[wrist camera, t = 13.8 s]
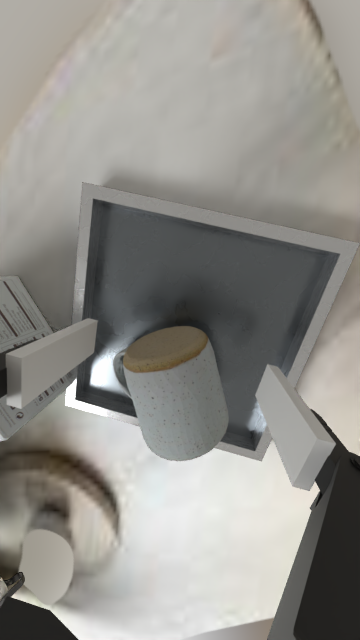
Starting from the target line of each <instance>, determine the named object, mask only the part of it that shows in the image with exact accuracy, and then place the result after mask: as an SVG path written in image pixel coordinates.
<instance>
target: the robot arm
mask: <svg viewBox="0 0 360 640" xmlns="http://www.w3.org/2000/svg"><path fill="white" fill-rule="evenodd" d="M97 322H98V320H94V319H90V318H87V319H85V320H83V321H80V322H78V323H76V324H73V325H71V326H69V327H66V328H64V329H62V330H60V331H57V332H55V333H53V334H50V335H48V336H46V337H44V338H40V339H35V340H30V341H28V342H26V343H23V344H21V345H18V346H16V348H15V347H14V348H11V349H9V350H7V351H4V352H2V353H0V398H2V397H3V396H5V395H6V400H7V405H9V406H13V407H16V408H20V409H22V408H23V407H24V406H26V405H27V404H28V403H30V402H31V401H32V400H33V399H35V398H36V397H37V396H39V395H40V394H41V393H42V392H44V391H45V390H46V389H48V388H49V387H50V386H51V385H53V384H54V383H55V382H57V381H58V380H59V379H60V378H62V377H63V376H64V375H66V374H67V373H68V372H70V371H71V370H72V369H73V368H75V367H76V366H77V365H79V364H80V363H81V362H82V361H84V360H85V359H86V358H88V357H89V356H90V355H91V354H93V353H94V348H95V339H96V331H97ZM255 396H256V398H257V401H258V403H259V406H260V408H261V411H262V413H263V416H264V418H265V420H266V423H267V425H268V428H269V430H270V433H271V435H272V438H273V440H274V442H275V445H276V447H277V450H278V452H279V455H280V457H281V460H282V462H283V464H284V467H285V469H286V472H287V474H288V477H289V479H290V482H291V484H292V486H293V487H297V488H300V489H304V490H307V491H310V489H311V487H312V486H313V484H314V482H315V481H316V483H317V485H318V487H319V489H320V492H319V493H318V495H317V497H316V499H315V500H314V502H313V504H312V505H311V507H310V509H311V510H312V511H311V514H310V517H309V520H308V523H307V526H306V529H305V532H304V534H303V537H302V540H301V543H300V546H299V549H298V552H297V555H296V557H295V560H294V563H293V566H292V569H291V572H290V575H289V578H288V580H287V583H286V586H285V589H284V592H283V595H282V598H281V601H280V603H279V606H278V609H277V612H276V615H275V618H274V621H273V624H272V626H271V630H270V632H269V635H268V638H267V640H360V456H358V455H356V454H354V453H351V452H349V451H348V450H347V449H346V448H345V446H344V445H343V444H342V443H341V441H340V440H339V439H338V438H337V436H336V435H335V434H334V433H333V432H332V430H331V429H330V428H329V426H327V424H326V422H325V421H324V420H323V419H322V417H321V416H319V415H318V414H317V413H316V412H315V411H314V410H312V409H309V407H308V406H307V405H306V403H305V402H304V401H303V399H302V398H301V397H300V395H299V394H298V393H297V391H296V390H295V389H294V387H293V386H292V385H291V384H290V382H289V381H288V380H287V378H286V377H285V376H284V374H283V373H282V372H281V370H280V369H279V368H278V367H277V366H273V365H269V364H267V366H266V369H265V372H264V374H263V377H262V379H261V382H260V384H259V387H258V390H257V392H256V395H255ZM0 640H78V639H77V638H76V637H75V636H74V635H73V634H72V633H71V632H70V630H69V629H68V628H67V627H66V626H65V625H64V624H63V623H62V622H61V621H60V620H59V619H58V618H57V617H56V616H55V615H54V614H53V613H52V612H51V611H50V610H47V609H44V608H41V607H38V606H35V605H32V604H29V603H26V602H23V601H20V600H17V599H14V598H11V597H8V596H7V597H6V599H5V600H4V602H3V604H2V605H1V607H0Z"/></svg>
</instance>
